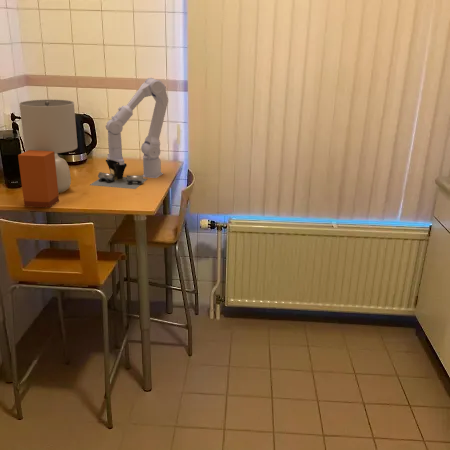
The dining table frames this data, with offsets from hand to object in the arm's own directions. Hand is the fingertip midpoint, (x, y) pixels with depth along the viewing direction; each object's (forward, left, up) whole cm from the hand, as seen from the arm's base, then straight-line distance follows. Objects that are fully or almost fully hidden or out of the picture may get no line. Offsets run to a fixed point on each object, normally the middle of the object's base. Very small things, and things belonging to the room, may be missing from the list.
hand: (116, 176), depth 224 cm
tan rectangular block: (0, 0, -1) cm, 1 cm away
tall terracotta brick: (+38, -15, -2) cm, 41 cm away
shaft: (+5, -3, -2) cm, 6 cm away
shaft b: (+5, +11, -2) cm, 12 cm away
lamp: (+22, -18, -2) cm, 28 cm away
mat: (+4, +3, -2) cm, 6 cm away
